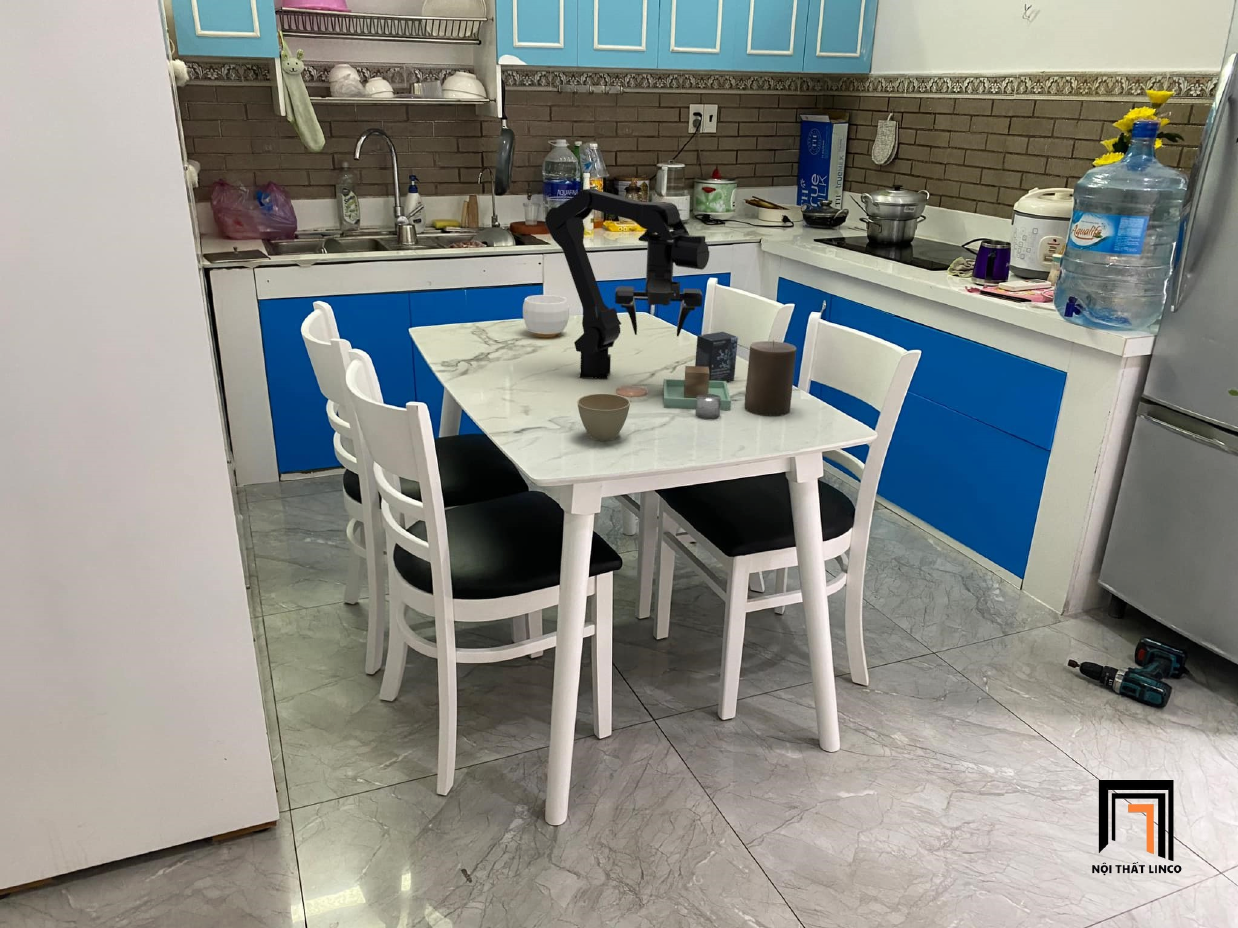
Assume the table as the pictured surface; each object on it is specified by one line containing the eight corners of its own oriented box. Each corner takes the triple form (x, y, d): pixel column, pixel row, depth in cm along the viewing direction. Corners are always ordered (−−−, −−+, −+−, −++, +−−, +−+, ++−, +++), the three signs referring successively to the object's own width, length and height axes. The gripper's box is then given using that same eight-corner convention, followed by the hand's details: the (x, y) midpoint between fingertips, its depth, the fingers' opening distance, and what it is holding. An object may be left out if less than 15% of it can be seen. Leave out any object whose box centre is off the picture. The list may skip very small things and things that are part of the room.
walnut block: (684, 399, 202) (686, 372, 199) (683, 392, 206) (685, 365, 204) (707, 400, 201) (709, 373, 199) (706, 393, 206) (708, 366, 204)
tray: (663, 407, 198) (664, 398, 197) (663, 387, 211) (663, 378, 210) (730, 410, 198) (731, 400, 197) (725, 390, 210) (726, 381, 210)
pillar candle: (780, 419, 193) (788, 348, 188) (736, 410, 197) (743, 341, 192) (796, 407, 201) (804, 339, 196) (753, 399, 205) (760, 332, 200)
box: (708, 385, 214) (711, 340, 210) (693, 379, 218) (696, 334, 214) (735, 380, 218) (738, 336, 214) (719, 374, 222) (722, 330, 218)
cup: (567, 341, 246) (567, 305, 243) (520, 340, 246) (520, 303, 243) (570, 330, 258) (570, 295, 254) (525, 328, 258) (525, 293, 254)
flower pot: (575, 427, 185) (576, 393, 182) (626, 427, 185) (627, 393, 183) (578, 446, 175) (578, 409, 173) (631, 445, 176) (632, 409, 174)
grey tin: (696, 419, 192) (697, 400, 190) (695, 411, 196) (696, 393, 195) (720, 420, 192) (721, 401, 190) (718, 412, 196) (720, 394, 195)
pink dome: (615, 398, 204) (615, 394, 204) (615, 388, 211) (615, 385, 210) (647, 399, 204) (648, 395, 204) (647, 389, 211) (647, 386, 210)
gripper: (615, 269, 193) (613, 343, 199) (705, 272, 193) (700, 346, 199) (616, 260, 203) (614, 330, 209) (702, 263, 203) (698, 333, 209)
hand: (656, 335), depth 206 cm, fingers open, 9 cm apart
